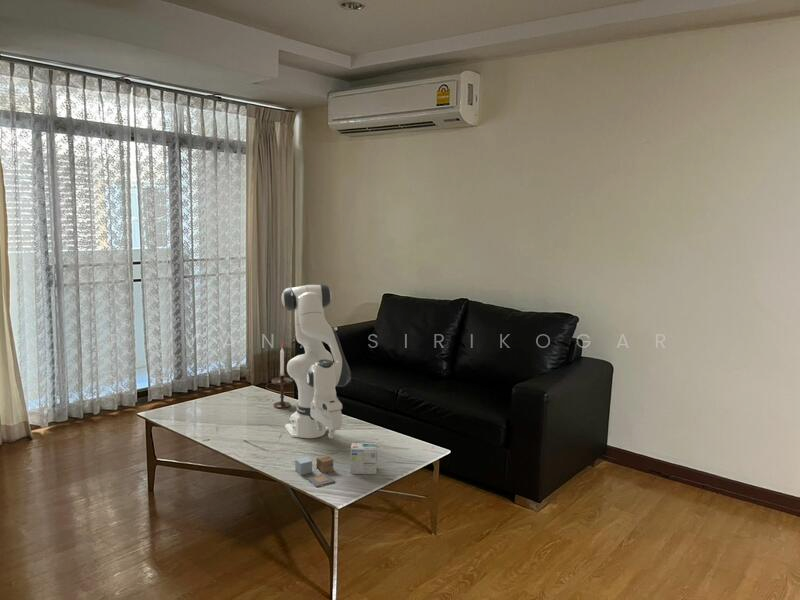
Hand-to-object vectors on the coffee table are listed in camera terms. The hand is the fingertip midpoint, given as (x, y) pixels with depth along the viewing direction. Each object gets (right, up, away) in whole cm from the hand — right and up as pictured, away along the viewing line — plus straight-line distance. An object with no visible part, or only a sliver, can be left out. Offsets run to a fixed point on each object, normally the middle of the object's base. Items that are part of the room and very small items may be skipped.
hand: (325, 434), depth 234 cm
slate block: (-9, -15, 0) cm, 18 cm away
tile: (-1, -17, -7) cm, 18 cm away
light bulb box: (+15, -16, +3) cm, 22 cm away
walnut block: (-1, -15, +3) cm, 16 cm away
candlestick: (-33, -3, +79) cm, 86 cm away
